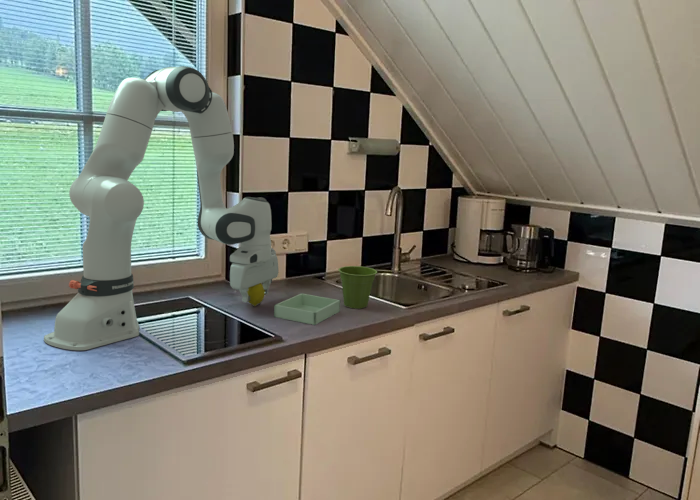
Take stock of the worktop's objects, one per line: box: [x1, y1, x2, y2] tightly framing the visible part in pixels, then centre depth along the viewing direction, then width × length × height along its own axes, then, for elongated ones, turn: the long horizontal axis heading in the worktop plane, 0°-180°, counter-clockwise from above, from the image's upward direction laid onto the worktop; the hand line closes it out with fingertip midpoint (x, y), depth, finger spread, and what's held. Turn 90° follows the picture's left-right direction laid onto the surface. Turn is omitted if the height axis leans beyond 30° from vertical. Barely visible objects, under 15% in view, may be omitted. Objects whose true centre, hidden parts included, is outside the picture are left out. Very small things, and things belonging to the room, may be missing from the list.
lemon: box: [247, 283, 265, 307], centre depth 176 cm, size 6×6×8 cm
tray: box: [273, 293, 341, 326], centre depth 171 cm, size 15×13×4 cm
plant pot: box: [338, 265, 378, 310], centre depth 181 cm, size 12×12×11 cm
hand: (255, 298), depth 177 cm, fingers open, 8 cm apart
